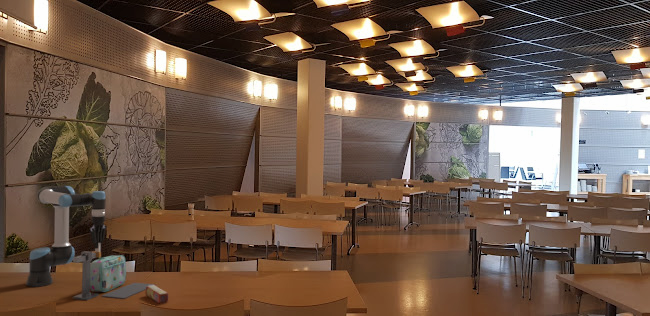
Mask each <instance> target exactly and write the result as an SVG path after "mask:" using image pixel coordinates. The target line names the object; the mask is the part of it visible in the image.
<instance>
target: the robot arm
mask: <svg viewBox="0 0 650 316" xmlns="http://www.w3.org/2000/svg"><path fill="white" fill-rule="evenodd" d="M106 198H107V197H106V192H105V191H102V190H94V191H92V193H91V192H86V193H77V194H76V192H75V189H74V188H73V187H72V186H70V185H57V186H51V185H50V186H44V187H41V188H40V189H39V190H38V191H37V192H36V199H37V201H38V202H39V203H41V204H45V205H47V204H50V205H51V204H52V207H53V208H54V243H53V244H52V245H51V248H50V247H47V246H45V247H39V248H34V249H33V250H31V251H30V253H29V274H28V275H27V279H26V281H25V282H26V283H25V286H26V285H27V287H29V286H30V287H31V288H34V287H35V288H36V287H44V286H45V287H46V286H49V285H52V284H53V277H52V274H51V270H50V268H51V267H56V266H62V265H63V266H65V265H67V264H71V263H72V262H73V257H75V255H76V254H75V253H76V251H75V248H74V247H73V246H72V244H71V243H70V240H69V235H70V207H72V208H73V207H81V206H82V207H85V206H91V223H92V227H89V231H90V236H91V238H90V239H91V243H93V244H94V251H97V252H101V248H102V244H103V242H104V239H105V233H106V229H107V225H105V221H106V217H105V216H106Z"/></svg>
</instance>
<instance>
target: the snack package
mask: <svg viewBox="0 0 650 316" xmlns="http://www.w3.org/2000/svg"><path fill="white" fill-rule="evenodd" d="M145 296H147V297H148V298H150V299H152V300H154V301H155V302H156V303H158V304H159V303H162V304H165V303H167V302H168V301H169V293H168V292H167V291H165V290H164V289H161V288H159V286H157V285H156V284H155V285H149V286H147V287H146V290H145Z"/></svg>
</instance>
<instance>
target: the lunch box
mask: <svg viewBox="0 0 650 316" xmlns="http://www.w3.org/2000/svg"><path fill="white" fill-rule="evenodd" d="M126 260H127V259H126V257H125V256H124V255H122V254H121V255H109V256H104V257H98V259H95V260H94V261H93V260H92V261H91V262H90V291H92V292H95V293H96V292H97V293H107V292H109V291H110V292H111V291H113V290H114V289H116V288H118V287H120V286H123V285H124V284H125V282H126V280H127V263H126Z"/></svg>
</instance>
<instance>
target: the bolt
mask: <svg viewBox="0 0 650 316" xmlns="http://www.w3.org/2000/svg"><path fill="white" fill-rule="evenodd" d="M91 252H92V260H93V259H95V258H102V252H101V251H100V252H97V251H95V250H92V251H91ZM86 260H87V254H84V255H81V254H80V255H77V256H74V257H73V260H72V262H73V263H75V264H76V263H77V264H78V263H81V262H82V263H83V261H86Z"/></svg>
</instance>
